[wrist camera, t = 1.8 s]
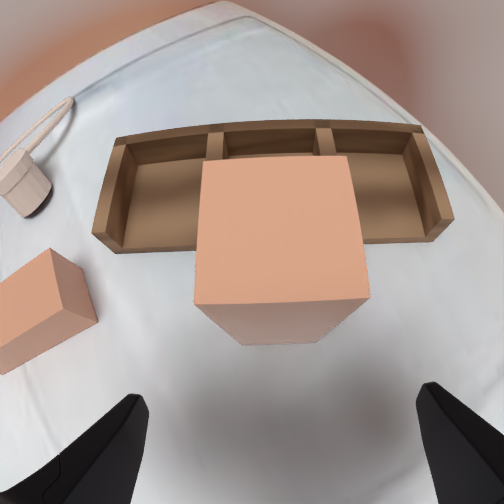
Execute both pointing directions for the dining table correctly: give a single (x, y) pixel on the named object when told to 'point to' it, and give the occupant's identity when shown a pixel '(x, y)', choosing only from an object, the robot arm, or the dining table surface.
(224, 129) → the tray
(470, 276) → the dining table surface
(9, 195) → the toilet paper hanger
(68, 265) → the clay bar
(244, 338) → the clay bar
